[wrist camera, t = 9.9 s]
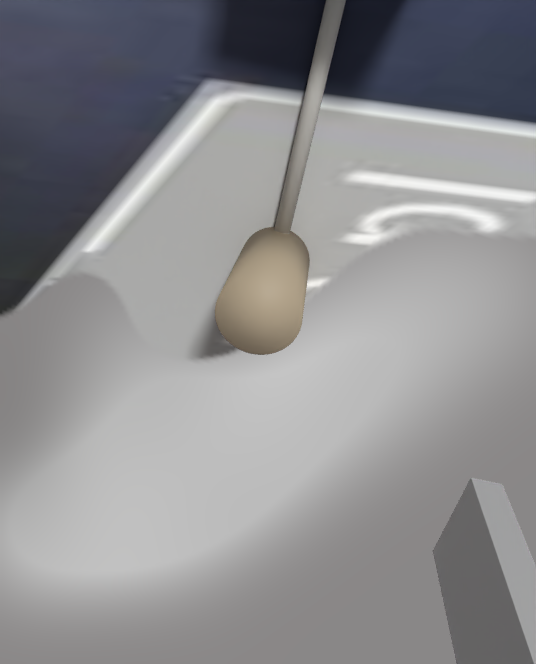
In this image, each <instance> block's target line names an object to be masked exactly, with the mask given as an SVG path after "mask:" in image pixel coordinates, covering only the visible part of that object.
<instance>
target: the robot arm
mask: <svg viewBox="0 0 536 664" xmlns="http://www.w3.org/2000/svg"><path fill="white" fill-rule="evenodd" d="M433 554H434V559H435V563H436V568H437V573H438V578H439V582H440V586H441V592H442V596H443V601H444V606H445V610H446V615H447V620H448V625H449V629H450V634H451V639H452V644H453V648H454V653H455V658H456V663H457V664H536V566H535V564H534V561H533V559H532V556H531V554H530V551H529V549H528V546H527V544H526V541H525V539H524V536H523V534H522V531H521V529H520V527H519V524H518V522H517V519H516V517H515V514H514V512H513V510H512V507H511V505H510V502H509V499H508V497H507V495H506V492H505V490H504V487H503V485H502V484H500V483H494V482H490V481H485V480H480V479H475V478H471V479H470V481H469V482H468V484H467V487H466V488H465V490H464V492H463V494H462V496H461V498H460V500H459V502H458V504H457V505H456V507H455V509H454V511H453V513H452V515H451V517H450V519H449V521H448V523H447V525H446V527H445V529H444V531H443V532H442V534H441V536H440V538H439V540H438V542H437V544H436V546H435V548H434V550H433Z"/></svg>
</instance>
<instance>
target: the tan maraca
mask: <svg viewBox="0 0 536 664" xmlns="http://www.w3.org/2000/svg"><path fill="white" fill-rule="evenodd" d="M345 2H346V0H326V3H325V7H324V12H323V16H322V21H321V25H320V29H319V34H318V38H317V43H316V47H315V52H314V56H313V60H312V65H311V69H310V74H309V78H308V83H307V87H306V91H305V96H304V100H303V105H302V109H301V113H300V118H299V122H298V127H297V131H296V136H295V140H294V144H293V149H292V153H291V158H290V162H289V167H288V171H287V175H286V180H285V184H284V189H283V193H282V198H281V202H280V206H279V211H278V215H277V220H276V224H275V227H269V228H264V229H262V230H259V231H257V232H256V233H254V234H253V235H252V236H251V237H250V238H249V239H248V240H247V242H246V243H245V245H244V247H243V249H242V251H241V253H240V255H239V257H238V259H237V261H236V263H235V265H234V267H233V269H232V271H231V273H230V275H229V277H228V279H227V281H226V283H225V285H224V287H223V289H222V291H221V293H220V295H219V297H218V299H217V302H216V306H215V318H216V323H217V326H218V328H219V330H220V332H221V334H222V335H223V336H224V338H225V339H226V340H227V341H228V342H229V343H230V344H232V345H233V346H234V347H236V348H238V349H240V350H242V351H244V352H247V353H251V354H258V355H264V354H272V353H275V352H278V351H280V350H282V349H284V348H286V347H287V346H289V345H290V344H291V343H292V342H293V341H294V339H295V338H296V337H297V335H298V333H299V331H300V328H301V325H302V318H303V310H304V302H305V294H306V287H307V279H308V271H309V261H310V260H309V253H308V250H307V247H306V245H305V244H304V242H303V241H302V240H301V238H300V237H299V236H297V235H296V234H295V233H293V232H292V231H290V229H291V225H292V221H293V217H294V213H295V209H296V204H297V200H298V196H299V192H300V188H301V184H302V180H303V175H304V171H305V167H306V163H307V159H308V155H309V151H310V147H311V142H312V138H313V134H314V130H315V126H316V122H317V118H318V114H319V109H320V105H321V101H322V97H323V93H324V89H325V85H326V80H327V76H328V72H329V68H330V64H331V60H332V56H333V52H334V47H335V43H336V39H337V35H338V31H339V27H340V23H341V19H342V14H343V10H344V6H345Z"/></svg>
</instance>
